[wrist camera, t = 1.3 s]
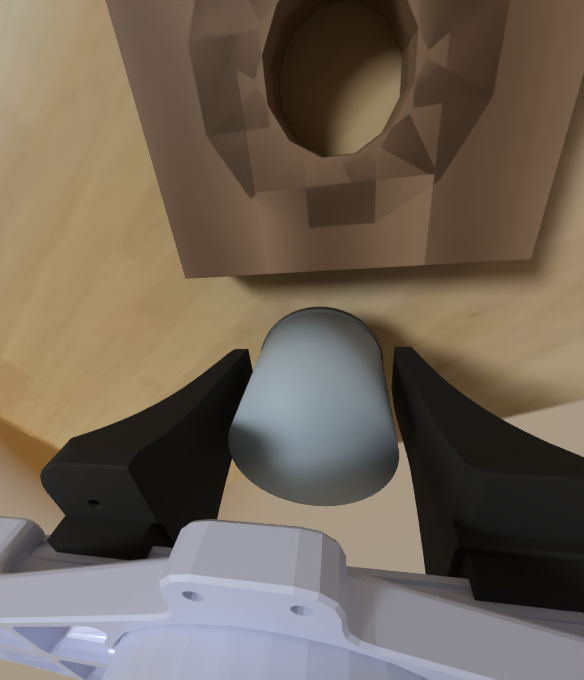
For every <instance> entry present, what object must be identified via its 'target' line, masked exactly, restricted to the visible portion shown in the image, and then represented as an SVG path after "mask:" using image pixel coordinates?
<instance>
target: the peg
mask: <svg viewBox="0 0 584 680" xmlns="http://www.w3.org/2000/svg"><path fill="white" fill-rule="evenodd" d="M228 445H229V450H230V453H231V456H232V459H233V460H234V462H235V464H236V466H237V467H238V468H239V470H240V471H241V472H242V473H243V474H244V475H245V476H246V477H247V478H248V479H249V480H250V481H251V482H252V483H254V484H255V485H257V486H258V487H260V488H261V489H263V490H265V491H267V492H268V493H270V494H273V495H275V496H277V497H279V498H282V499H285V500H288V501H292V502H295V503H300V504H306V505H314V506H336V505H345V504H349V503H354V502H357V501H360V500H363V499H365V498H368V497H370V496H372V495H373V494H375V493H377V492H378V491H380V490H381V489H382V488H384V487H385V486H386V485H387V484H388V483H389V481H390V480H391V479H392V477H393V476H394V474H395V472H396V469H397V467H398V462H399V449H398V444H397V438H396V433H395V428H394V422H393V417H392V412H391V406H390V401H389V395H388V390H387V385H386V379H385V374H384V369H383V356H382V351H381V347H380V344H379V341H378V340H377V338H376V336H375V334H374V333H373V332H372V330H371V329H370V328H369V327H368V326H367V325H366V324H365V323H364V322H362V321H361V320H360V319H358V318H357V317H355V316H353V315H352V314H350V313H347V312H345V311H342V310H339V309H335V308H329V307H310V308H305V309H300V310H298V311H295V312H292V313H291V314H289V315H287V316H285V317H283V318H282V319H281V320H279V321H278V322H277V323H276V324H275V325H274V326H273V327H272V328H271V330H270V331H269V333H268V334H267V336H266V338H265V340H264V343H263V346H262V350H261V354H260V356H259V358H258V361H257V363H256V366H255V368H254V371H253V373H252V376H251V378H250V380H249V383H248V385H247V388H246V390H245V393H244V395H243V398H242V400H241V402H240V405H239V407H238V410H237V412H236V415H235V417H234V420H233V422H232V425H231V427H230V430H229V436H228Z"/></svg>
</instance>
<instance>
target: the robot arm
mask: <svg viewBox="0 0 584 680" xmlns="http://www.w3.org/2000/svg"><path fill="white" fill-rule="evenodd" d="M252 373H253V370H252V365H251V360H250V355H249V351H248V349H234V350H233V351H231V352H230V353H228V354H227V355H226V356H225V357H223V358H222V359H221V360H220V361H218V362H217V363H216V364H215V365H213V366H212V367H211V368H210V369H208V370H207V371H206V372H204V373H203V374H202V375H200V376H199V377H198V378H196V379H195V380H193V381H192V382H191V383H189V384H188V385H186V386H185V387H184V388H182V389H181V390H179V391H177V392H176V393H174V394H173V395H171V396H169V397H168V398H166V399H164V400H162V401H161V402H159V403H157V404H155V405H153V406H151V407H149V408H147V409H145V410H143V411H141V412H139V413H137V414H135V415H133V416H130V417H128V418H126V419H123V420H121V421H118V422H116V423H114V424H111V425H108V426H106V427H103V428H100V429H97V430H94V431H91V432H89V433H86V434H83V435H80V436H77V437H73V438H71V439H70V440H69V441H68V442H67V443H66V444H65V446H64V447H63V448H62V449H61V450H60V451H59V452H58V453H57V454H56V455H55V456H54V457H53V458H52V459H51V461H50V462H49V463H48V464H47V465H46V466H45V467H44V468H43V469H42V471H41V475H40V477H41V482H42V485H43V487H44V488H45V490H46V491H47V493H48V494H49V495H50V497H51V498H52V499H53V500H54V502H55V503H56V504H57V505H58V506H59V508H60V509H61V510H62V511H63V513H64V514H65V515H66V516H65V517H64V518H63V520H62V521H61V522H60V524H59V525H58V526H57V528H56V529H55V530H54V532H53V533H52V534H51V535H45V533H44V531H43V530H42V528H41V527H40V526H39V525H38V524H36V523H35V522H33V521H31V520H28V519H24V518H23V519H22V518H13V517H3V516H0V659H2V660H7V661H11V662H15V663H19V664H23V665H27V666H31V667H35V668H39V669H42V670H47V671H50V672H54V673H57V674H61V675H65V676H68V677H72V678H76V679H79V680H584V457H582V456H580V455H577V454H574V453H572V452H570V451H567V450H565V449H563V448H560V447H558V446H555V445H553V444H550V443H548V442H546V441H544V440H541V439H539V438H537V437H535V436H533V435H531V434H529V433H527V432H525V431H523V430H521V429H519V428H517V427H515V426H513V425H511V424H509V423H507V422H506V421H504V420H502V419H501V418H499V417H497V416H495V415H494V414H492V413H490V412H489V411H487V410H485V409H484V408H482V407H481V406H479V405H478V404H476V403H475V402H473V401H472V400H470V399H469V398H467V397H466V396H465V395H463V394H462V393H461V392H459V391H458V390H457V389H456V388H454V387H453V386H452V385H451V384H449V383H448V382H447V381H446V380H445V379H443V378H442V377H441V376H440V375H439V374H438V373H437V372H436V371H435V370H434V369H433V368H432V367H431V366H430V365H429V364H428V363H427V362H426V361H425V360H424V359H423V358H422V357H421V356H420V355H419V354H418V353H417V352H416V351H415V350H414V349H413V348H412V347H395V348H394V362H393V375H392V395H393V402H394V409H395V413H396V417H397V421H398V424H399V428H400V432H401V435H402V439H403V443H404V446H405V449H406V453H407V457H408V461H409V465H410V470H411V476H412V482H413V487H414V494H415V500H416V506H417V514H418V520H419V527H420V534H421V541H422V549H423V556H424V564H425V572H426V574H416V573H406V572H397V571H387V570H378V569H367V568H358V567H349V566H346V555H345V554H344V552H343V550H342V548H341V546H340V544H339V543H338V542H337V541H336V540H334V539H332V538H331V537H329V536H328V535H326V534H324V533H323V532H321V531H317V530H312V529H308V528H304V527H298V526H286V525H274V524H262V523H251V522H239V521H227V520H217V517H218V512H219V508H220V504H221V500H222V495H223V491H224V487H225V483H226V479H227V475H228V472H229V468H230V464H231V460H232V456H231V453H230V450H229V445H228V436H229V430H230V427H231V425H232V422H233V420H234V417H235V415H236V412H237V410H238V407H239V405H240V402H241V400H242V398H243V395H244V393H245V390H246V388H247V385H248V383H249V380H250V378H251V376H252Z"/></svg>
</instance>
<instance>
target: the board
mask: <svg viewBox="0 0 584 680" xmlns="http://www.w3.org/2000/svg"><path fill="white" fill-rule="evenodd" d="M339 1H344V0H106V3H107V7H108V10H109V14H110V17H111V21H112V24H113V28H114V31H115V34H116V38H117V41H118V45H119V48H120V52H121V55H122V59H123V62H124V66H125V69H126V73H127V76H128V80H129V83H130V87H131V90H132V94H133V97H134V101H135V104H136V108H137V111H138V115H139V118H140V122H141V125H142V129H143V132H144V135H145V139H146V142H147V146H148V149H149V153H150V156H151V160H152V163H153V167H154V170H155V174H156V177H157V181H158V184H159V188H160V191H161V195H162V198H163V202H164V205H165V209H166V212H167V216H168V219H169V223H170V226H171V229H172V233H173V236H174V240H175V243H176V247H177V250H178V254H179V257H180V261H181V264H182V268H183V271H184V275H185V278H186V279H187V278H205V277H223V276H241V275H258V274H276V273H294V272H311V271H329V270H347V269H365V268H382V267H400V266H418V265H436V264H453V263H471V262H489V261H507V260H524V259H531V257H532V254H533V250H534V247H535V243H536V240H537V236H538V233H539V229H540V226H541V222H542V219H543V215H544V212H545V208H546V205H547V201H548V197H549V194H550V190H551V187H552V183H553V180H554V176H555V173H556V169H557V166H558V162H559V159H560V155H561V152H562V148H563V145H564V141H565V138H566V134H567V131H568V127H569V124H570V120H571V117H572V113H573V110H574V106H575V103H576V99H577V96H578V92H579V88H580V85H581V81H582V78H583V74H584V0H359V1H360V2H362V3H364V4H365V5H367V6H369V7H370V8H372V9H374V10H375V11H377V12H379V13H380V14H382V15H384V16H385V17H386V18H387V20H388V22H389V25H390V27H391V29H392V32H393V34H394V36H395V39H396V41H397V43H398V45H399V48H400V50H401V52H402V69H401V87H400V98H399V100H398V102H397V104H396V106H395V108H394V110H393V112H392V114H391V116H390V118H389V120H388V122H387V124H386V126H385V127H384V129H383V131H382V133H381V134H379V135H378V136H377V137H375V138H374V139H373V140H372V141H370V142H369V143H368V144H366V145H365V146H364V147H363V148H361V149H360V150H359V151H357V152H356V153H353V154H345V155H336V156H328V157H325V156H323V155H321V154H319V153H317V152H315V151H314V150H312V149H310V148H308V147H306V146H304V145H302V144H300V143H299V142H298V140H297V138H296V137H295V135H294V133H293V132H292V130H291V128H290V127H289V125H288V123H287V122H286V120H285V118H284V117H283V115H282V110H281V100H280V89H279V79H278V74H279V71H280V68H281V64H282V61H283V58H284V55H285V52H286V49H287V46H288V42H289V39H290V36H291V34H292V33H293V32H294V31H295V30H296V29H297V28H298V27H299V26H300V25H301V24H302V23H303V22H304V21H305V20H306V19H307V18H308V16H309V15H310V14H311V13H312V12H313V11H314V10H315V9H316V8H317V7H318V6H319V5H324V4H329V3H334V2H339Z"/></svg>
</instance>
